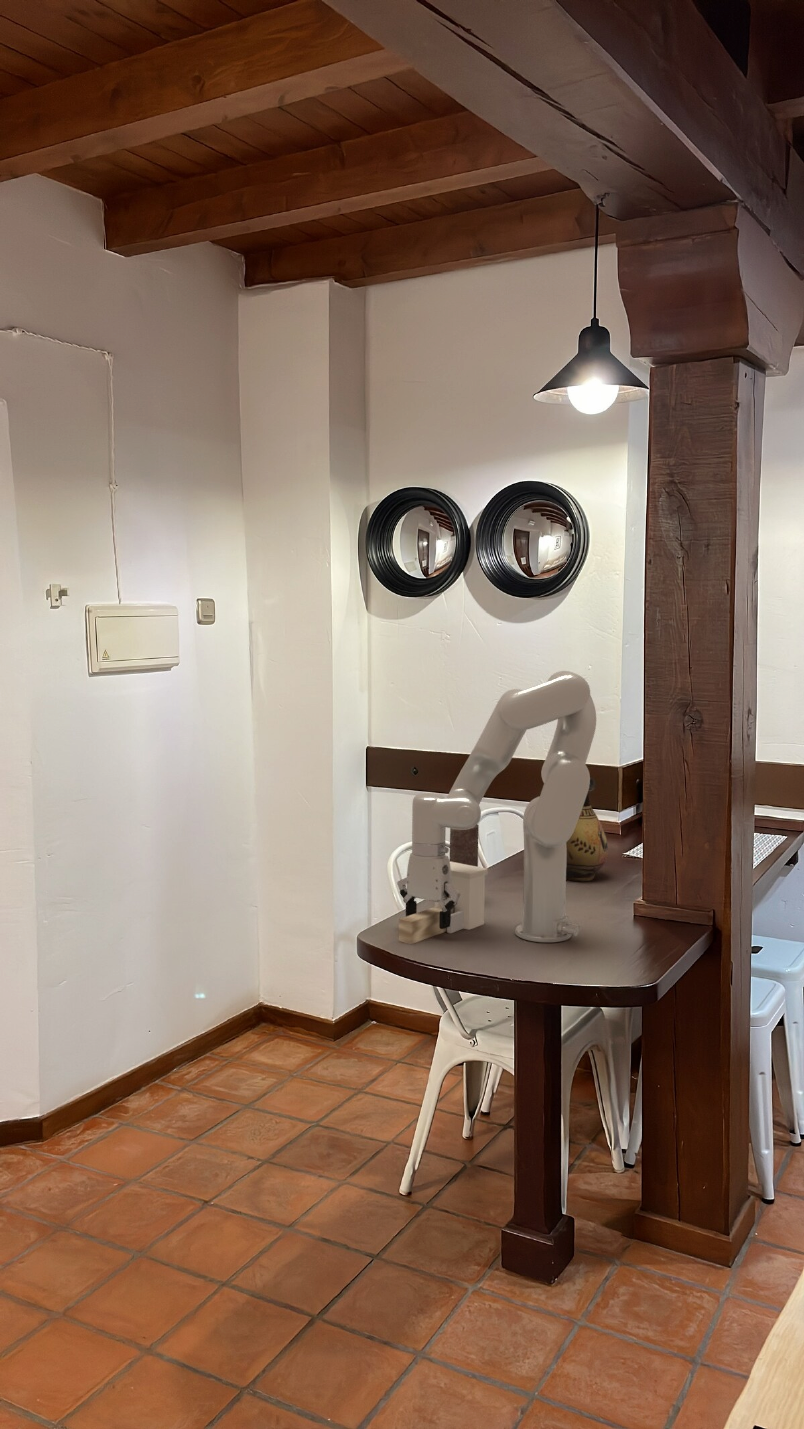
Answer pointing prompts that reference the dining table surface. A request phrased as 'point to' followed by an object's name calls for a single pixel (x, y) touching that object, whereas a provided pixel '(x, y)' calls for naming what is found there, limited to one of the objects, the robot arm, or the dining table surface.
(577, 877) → the ceramic jug
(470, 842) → the candle
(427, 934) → the wooden block
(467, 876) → the white upright pillar
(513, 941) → the dining table surface
